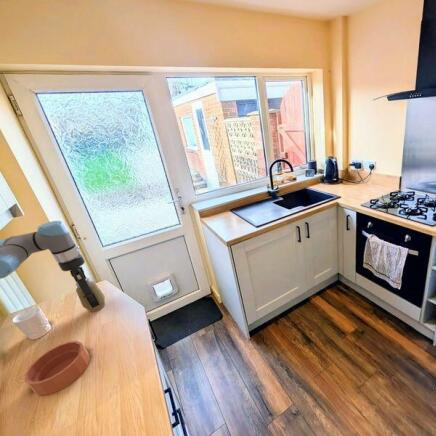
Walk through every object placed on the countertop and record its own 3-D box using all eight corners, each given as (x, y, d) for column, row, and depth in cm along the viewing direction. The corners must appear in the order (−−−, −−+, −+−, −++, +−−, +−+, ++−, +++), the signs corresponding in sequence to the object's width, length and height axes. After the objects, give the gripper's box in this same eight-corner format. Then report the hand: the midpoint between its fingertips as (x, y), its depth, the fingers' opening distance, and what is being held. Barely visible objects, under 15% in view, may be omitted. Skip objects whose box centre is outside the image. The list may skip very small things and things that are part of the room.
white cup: (34, 343, 94) (19, 324, 90) (22, 338, 96) (7, 320, 92) (57, 326, 100) (44, 308, 96) (45, 322, 103) (32, 305, 99)
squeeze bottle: (81, 312, 106) (61, 279, 99) (98, 299, 113) (80, 267, 106) (95, 314, 104) (76, 281, 97) (112, 301, 111) (95, 268, 104)
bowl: (34, 375, 81) (24, 363, 79) (86, 345, 90) (79, 333, 88) (35, 407, 72) (24, 394, 69) (94, 370, 81) (86, 358, 78)
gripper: (85, 263, 93) (109, 307, 102) (77, 245, 108) (98, 285, 117) (59, 273, 88) (87, 318, 98) (55, 253, 103) (79, 294, 112)
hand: (93, 300), depth 107 cm, fingers open, 10 cm apart
